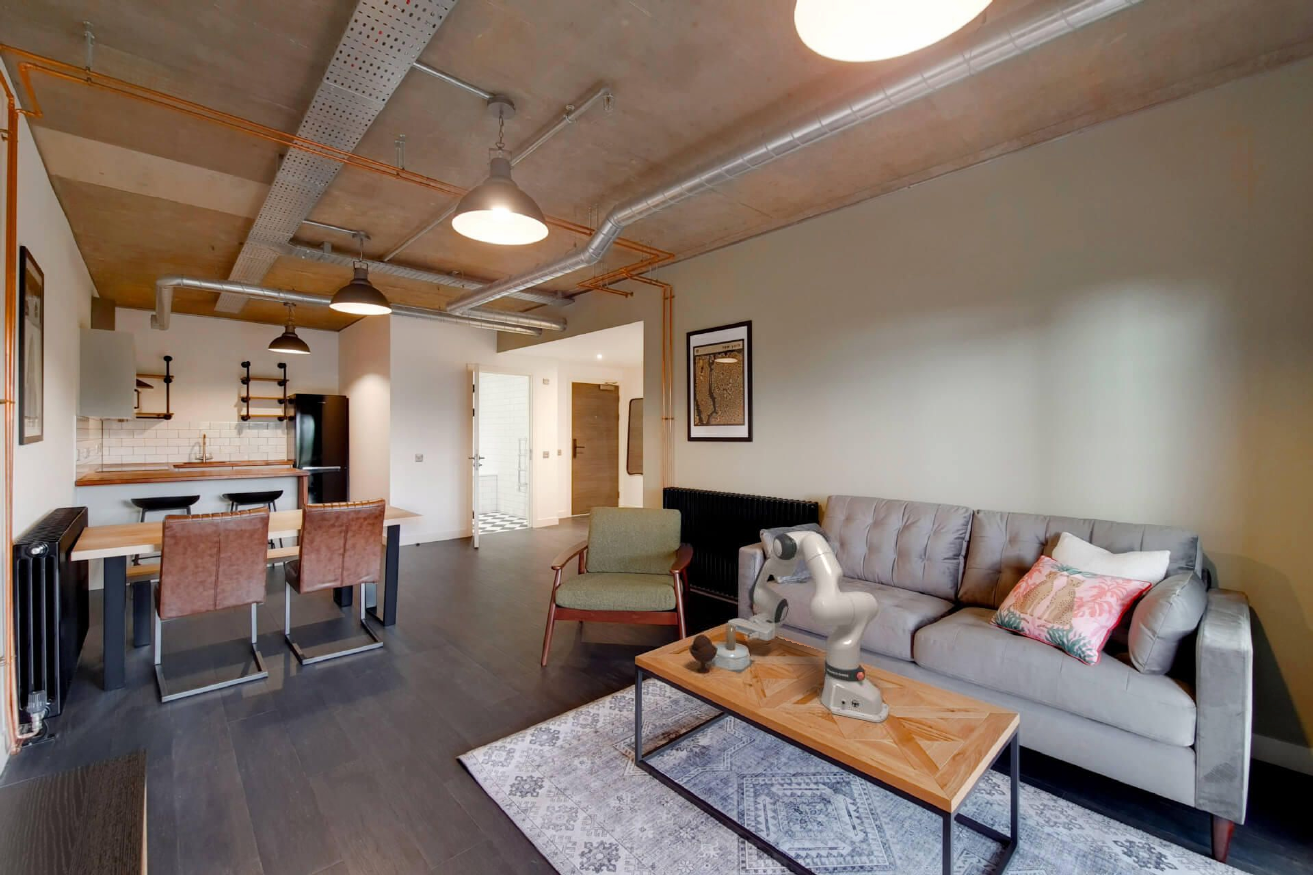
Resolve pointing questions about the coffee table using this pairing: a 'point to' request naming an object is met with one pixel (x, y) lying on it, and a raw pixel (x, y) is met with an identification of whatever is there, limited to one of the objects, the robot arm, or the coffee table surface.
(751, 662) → the mat
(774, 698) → the coffee table surface
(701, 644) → the ice cream bowl
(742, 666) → the hexagonal peg stand
